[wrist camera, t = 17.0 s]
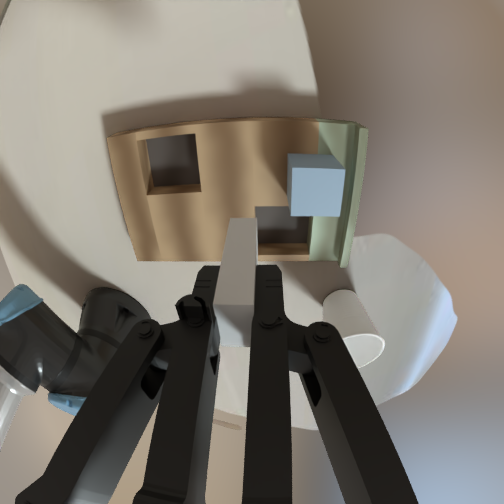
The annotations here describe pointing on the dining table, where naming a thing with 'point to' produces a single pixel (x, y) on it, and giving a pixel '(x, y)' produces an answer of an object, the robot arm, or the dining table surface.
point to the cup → (353, 326)
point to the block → (314, 185)
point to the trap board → (233, 186)
